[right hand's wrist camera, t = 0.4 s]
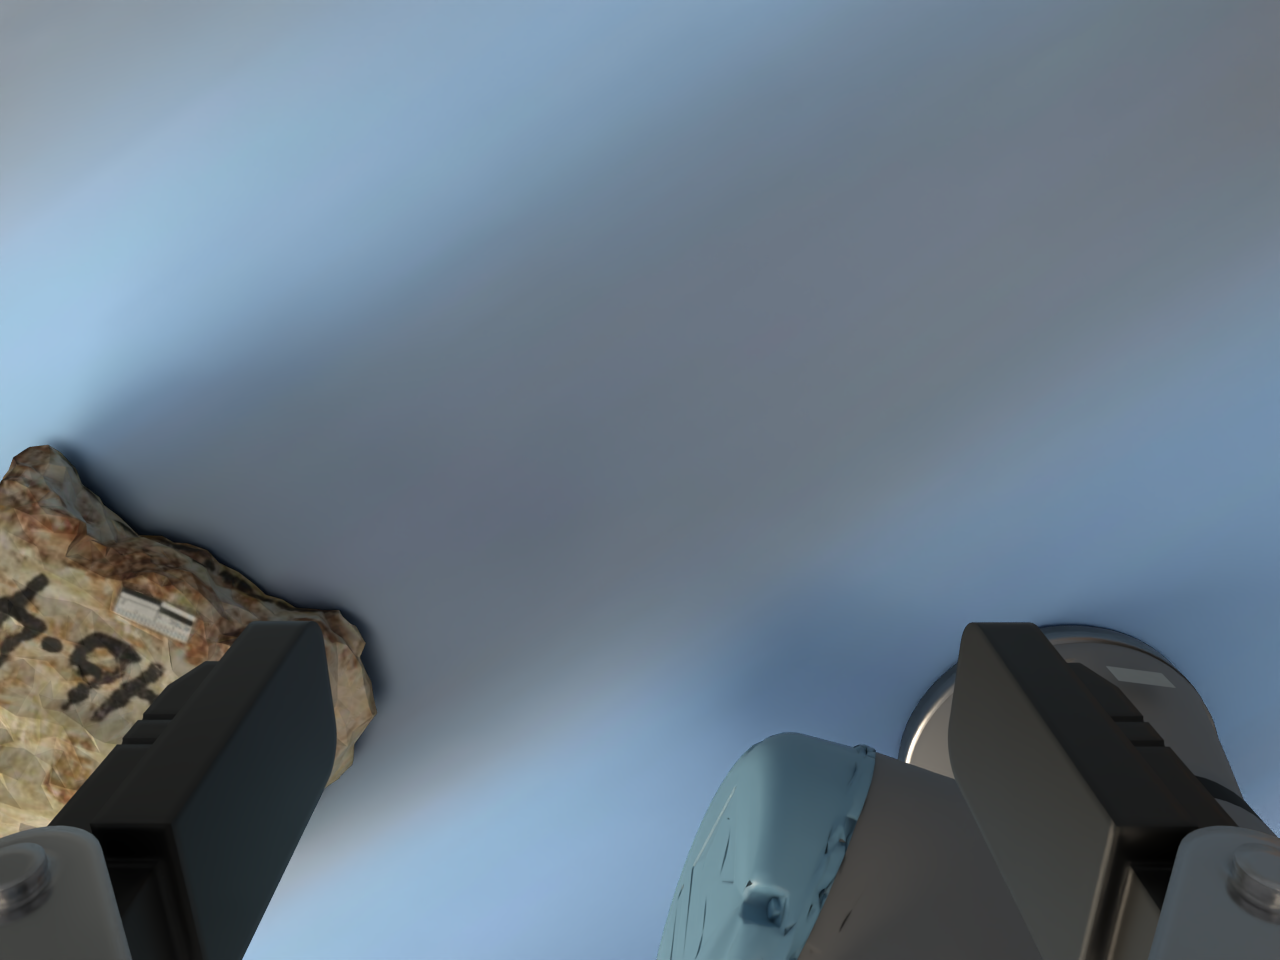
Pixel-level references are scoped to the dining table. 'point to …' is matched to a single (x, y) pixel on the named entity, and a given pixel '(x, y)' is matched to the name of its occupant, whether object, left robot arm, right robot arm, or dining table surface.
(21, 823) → the stone
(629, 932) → the dining table surface
